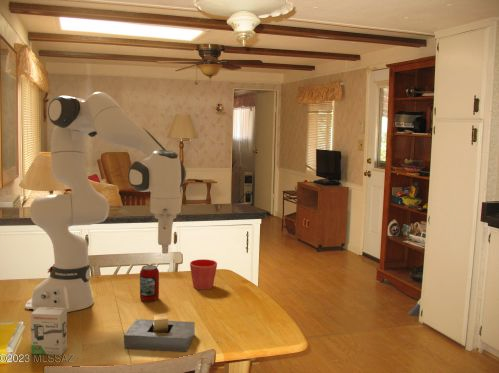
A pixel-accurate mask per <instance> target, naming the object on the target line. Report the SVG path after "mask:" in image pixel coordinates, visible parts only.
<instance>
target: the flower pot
mask: <svg viewBox="0 0 499 373" xmlns="http://www.w3.org/2000/svg"><path fill="white" fill-rule="evenodd" d="M189 267H190V274H191V282H192V286H193V288H194V289H197V290H202V291H203V290H204V291H205V290H210V289H212V288H213V287H214V284H215V278H216V273H217V267H218V262H217V261H215V260H213V259H202V258H201V259H195V260H194V259H193V260H191V261H190V263H189Z"/></svg>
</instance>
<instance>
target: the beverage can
mask: <svg viewBox="0 0 499 373" xmlns="http://www.w3.org/2000/svg"><path fill="white" fill-rule="evenodd" d="M159 294H160V271H159V269H158V266H157V265H154V264H147V265H142V267H141V269H140V271H139V298H140V300H142V301H144V302H154V301H156V300H158V298H159V297H160V295H159Z"/></svg>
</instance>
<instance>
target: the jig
mask: <svg viewBox="0 0 499 373" xmlns="http://www.w3.org/2000/svg"><path fill="white" fill-rule="evenodd" d="M195 324H196V323H195V321H180V320H168V333H154V332H153V319H141V318H136V319H135V321H134V322H133V323H132V324H131V326H130V327H129V328H128V330H126V332H125V333H124V335H123V349H125V350H126V349H128V350H143V351H144V350H145V351H160V352H161V351H162V352H179V353H181V352H182V353H187V352H188V350H189V348H190V346H191V343H192V341H193V339H194V336H195V333H196V332H195V330H196V329H195V328H196V327H195V326H196V325H195Z"/></svg>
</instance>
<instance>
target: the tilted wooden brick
mask: <svg viewBox="0 0 499 373" xmlns="http://www.w3.org/2000/svg"><path fill="white" fill-rule="evenodd" d="M152 320H153V332H154V333H168V321H169V318H168V314H167V313H164V314H163V313H162V314H161V313H159V314H152Z"/></svg>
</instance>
